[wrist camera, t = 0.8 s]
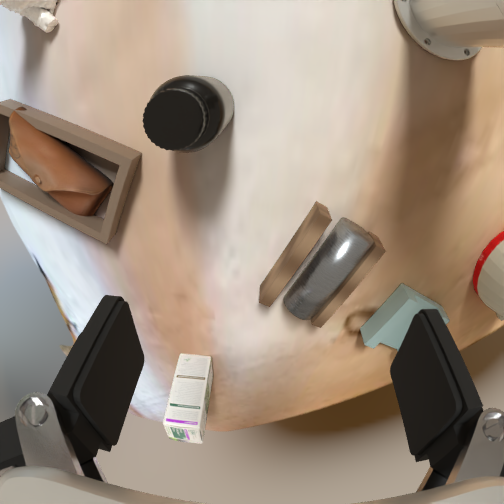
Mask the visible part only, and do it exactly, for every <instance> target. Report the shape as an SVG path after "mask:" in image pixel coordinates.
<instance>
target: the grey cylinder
mask: <svg viewBox="0 0 504 504" xmlns="http://www.w3.org/2000/svg"><path fill="white" fill-rule="evenodd" d="M373 243H374V241H373V239H372V238H371V236H370V235H369V234H368V233H367V232H366V231H365V230H364V229H363V228H362V227H360V226H359V225H357V224H356V223H354V222H352V221H350V220H349V219H347V218H341V219H340V221H339V222H338V223H337V225H336V226H335V228H334V229H333V230H332V232H331V233H330V235H329V236H328V238H327V239H326V240H325V242H324V243H323V245H322V246H321V247H320V249H319V250H318V252H317V253H316V254H315V256H314V257H313V258H312V260H311V261H310V263H309V264H308V265H307V267H306V268H305V269H304V271H303V272H302V273H301V275H300V276H299V278H298V279H297V280H296V282H295V283H294V284H293V286H292V287H291V288H290V290H289V291H288V292H287V294H286V295H285V296H284V303H285V306H286V307H287V309H288V310H289V311H290V312H291V313H292V314H293V315H295V316H296V317H298V318H300V319H303V320H310V319H312V318H313V317H314V316H315V315H316V314H317V312H318V311H319V310H320V309H321V308H322V307H323V305H324V304H325V303H326V302H327V301H328V299H329V298H330V297H331V296H332V295H333V293H334V292H335V291H336V290H337V289H338V287H339V286H340V285H341V284H342V283H343V281H344V280H345V279H346V278H347V276H348V275H349V274H350V273H351V271H352V270H353V269H354V268H355V266H356V265H357V264H358V263H359V261H360V260H361V259H362V257H363V256H364V255H365V254H366V252H367V251H368V250H369V248H370V247H371V246H372V245H373Z"/></svg>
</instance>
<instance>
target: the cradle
mask: <svg viewBox="0 0 504 504" xmlns="http://www.w3.org/2000/svg"><path fill="white" fill-rule="evenodd" d="M421 309H437V310H438V311H439V313H440V315H441V317H442V318H443V320H444V322H445V324H447V323H448V322H449V321H450V320H449V318H448V316H447V314H446V313H445V311H444V309H443V307H442V306H441V305H439V304H437V303H436V302H434V301H432V300H431V299H429V298H427V297H425V296H424V295H422V294H420V293H418V292H417V291H415V290H413V289H411V288H410V287H408V286H406V285H404V284H402V283H401V284H400V286H399V287H398V288H397V289H396V290H395V291H394V292H393V294H392V295H391V296H390V297H389V298H388V299H387V300H386V301H385V303H384V304H383V305H382V306H381V307H380V308H379V309H378V310H377V311H376V312H375V313H374V314H373V316H372V317H371V318H370V319H369V320H368V321H367V322H366V323H365V324H364V325H363V326H362V327H361V328H360V330H361V334H362V338H363V342H364V345H366V346H369V347H371V348H375V347H376V346H377V345H378V344H379V343H382V344H385V345H387V346H390V347H393V348H395V349H397V350H399V348H400V346H401V344H402V342H403V340H404V337H405V335H406V333H407V331H408V328H409V326H410V324H411V322H412V319H413V317H414V315H415V314H418V312H419V311H420V310H421Z"/></svg>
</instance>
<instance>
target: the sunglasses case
mask: <svg viewBox="0 0 504 504" xmlns="http://www.w3.org/2000/svg"><path fill="white" fill-rule="evenodd" d="M15 110H20V111H25V110H27V109H26V108H24V107H23V106H22V107H18V108H17V109H15ZM9 126H10V147H9V153H10V156H11V157H12V158H13V160H14V161H15V162H16V163H17V164H18V165H19V166H20V167H21V168H22V169H23V170H24V171H25V172H26V173H27V174H28V175H29V176H30V178H31V179H32V180H33V182H34V183H35V184H36V185H37V186H39V187H40V188H41V189H42V190H43V191H46V192H47V193H48V194H50V195H51V196H52V197H53V198H54V199H55V200H56V201H57V202H58V203H59V204H61V205H62V206H63V207H64V208H65V209H67V210H68V211H70V212H72V213H74V214H76V215H79V216H93V215H94V214H95V213H96V211H97V210H98V208H99V207H100V205H101V204H102V202H103V201H104V200H105V198H106V197H107V196H108V194H109V193H110V191H111V190H112V188H113V185H114V183H113V182H112V181H111V180H110V179H109V178H108V177H107V176H106V175H104V174H103V173H102V172H101V171H99V170H98V169H97V168H95V167H94V166H92V165H91V164H90V163H89V162H87V161H86V160H85V159H84V158H82V157H81V156H80V155H79V154H77V153H76V152H75V151H73V150H72V149H71V148H70V147H69V146H68V145H67V144H65V143H64V142H63V141H62V140H61V139H59V138H57V137H54V136H52V135H50V134H47V133H45V132H43V131H40V130H38V129H36V128H35V127H34V126H32V125H31V124H30V123H29V122H27V121H26V120H25V119H24V118H22V117H21V116H20V115H19V114H18V113H16V112H15V111H13V112H12V114H11V115H10V118H9Z"/></svg>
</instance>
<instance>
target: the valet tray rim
mask: <svg viewBox="0 0 504 504" xmlns="http://www.w3.org/2000/svg"><path fill="white" fill-rule="evenodd" d="M22 106H23V107H24V108H26V109H27V110H25V111H20V110H15V109H17V108H18V107H22ZM13 111H15V112H16V113H18V114H19V115H20V116H21V117H22V118H24V119H25V120H26V121H27V122H29V123H30V124H31V125H32V126H34V127H35V128H36V129H38V130H40V131H43V132H45V133H47V134H50V135H52V136H54V137H57V138H59V139H61V140H64V141H66V142H68V143H70V144H73V145H75V146H77V147H80V148H82V149H84V150H86V151H89V152H91V153H93V154H95V155H98V156H100V157H102V158H104V159H107V160H109V161H111V162H113V163H115V164H118V165H120V166H119V169H118V172H117V175H116V179H115V182H114V185H113V189H112V192H111V196H110V199H109V203H108V206H107V210H106V214H105V218H104V219H102V218H100V217H98V216H96V215H93V216H79V215H76V214H74V213H72V212H70V211H68V210H67V209H65V208H64V207H63V206H62V205H61V204H59V203H58V202H57V201H56V200H55V199H54V198H53V197H52V196H51V195H50V194H48V193H47V192H46V191H43V190H42V189H41V188H40V187H38V186H37V185H35V184H33V183H31V182H29V181H27V180H25V179H23V178H21V177H19V176H17V175H15V174H13V173H12V172H10V171H8V170H6V169H5V160H6V152H7V145H8V138H9V132H10V126H9V118H10V115H11V114H12V112H13ZM141 154H142V153H141V152H138V151H136V150H134V149H132V148H129V147H127V146H125V145H122V144H120V143H118V142H115V141H113V140H111V139H109V138H106V137H104V136H101V135H99V134H97V133H94V132H92V131H90V130H87V129H85V128H82V127H80V126H78V125H75V124H73V123H70V122H68V121H65V120H63V119H60V118H58V117H55V116H53V115H50V114H48V113H45V112H43V111H40V110H38V109H35V108H32V107H30V106H27V105H25V104H22V103H19V102H17V101H14V100H11V99H9V100H5V101H2V102H0V188H1V189H3V190H5V191H6V192H8V193H10V194H12V195H14V196H15V197H17V198H19V199H21V200H23V201H24V202H26V203H28V204H30V205H32V206H34V207H35V208H37V209H39V210H41V211H43V212H45V213H47V214H48V215H50V216H52V217H54V218H56V219H58V220H60V221H62V222H64V223H66V224H68V225H69V226H71V227H73V228H75V229H77V230H79V231H81V232H83V233H85V234H87V235H89V236H91V237H93V238H95V239H97V240H99V241H101V242H103V243H105V244H107V243H108V242H109V241H110V240H111V239H112V237H113V236H114V235H115V234H116V231H117V228H118V224H119V221H120V217H121V214H122V211H123V208H124V204H125V201H126V198H127V195H128V192H129V189H130V186H131V183H132V180H133V177H134V174H135V171H136V168H137V165H138V162H139V160H140V157H141Z"/></svg>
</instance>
